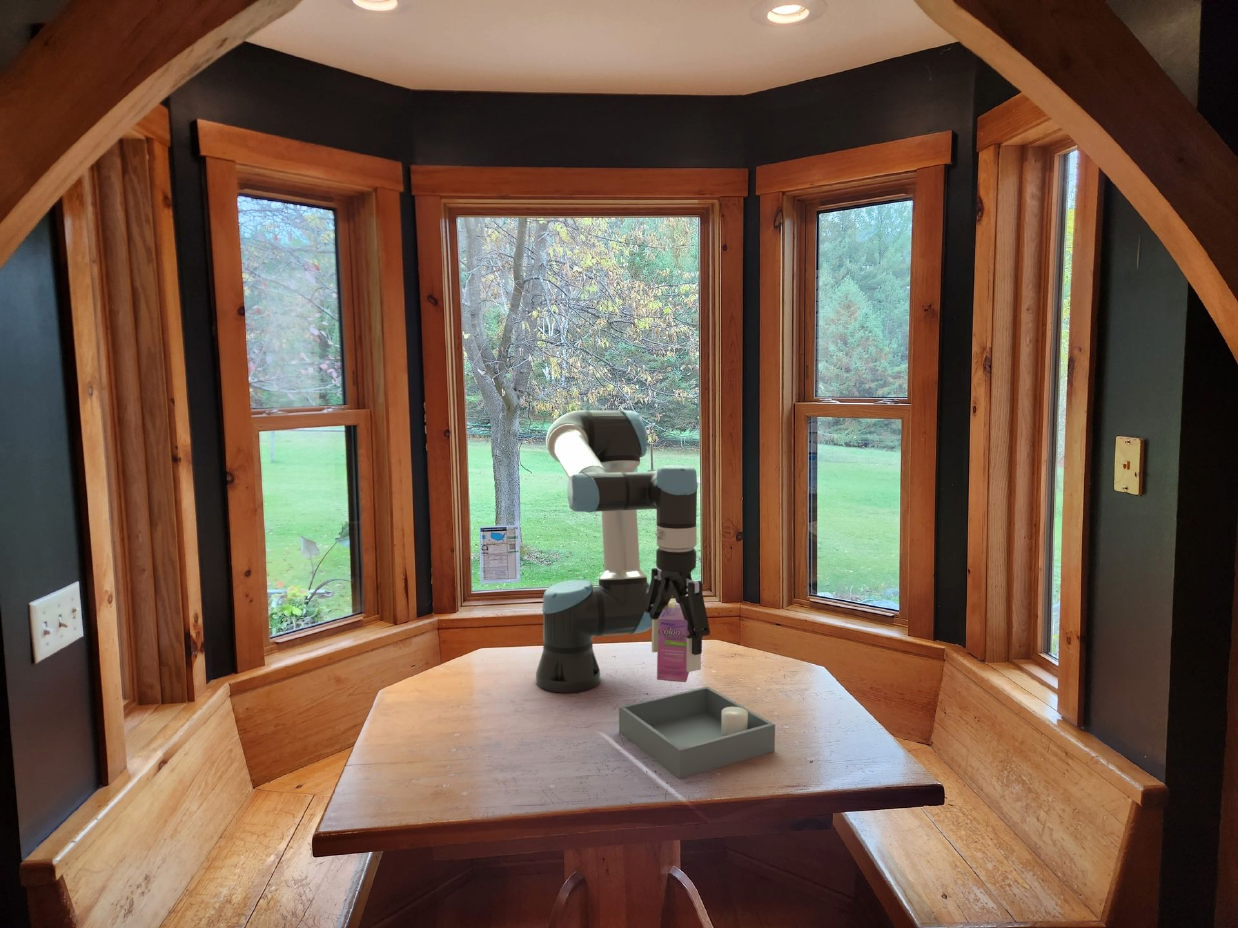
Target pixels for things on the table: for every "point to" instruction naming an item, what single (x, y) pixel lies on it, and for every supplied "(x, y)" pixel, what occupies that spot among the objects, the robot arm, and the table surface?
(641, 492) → the robot arm
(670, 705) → the crate
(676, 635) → the box
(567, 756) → the table surface
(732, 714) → the cream bullet shape
